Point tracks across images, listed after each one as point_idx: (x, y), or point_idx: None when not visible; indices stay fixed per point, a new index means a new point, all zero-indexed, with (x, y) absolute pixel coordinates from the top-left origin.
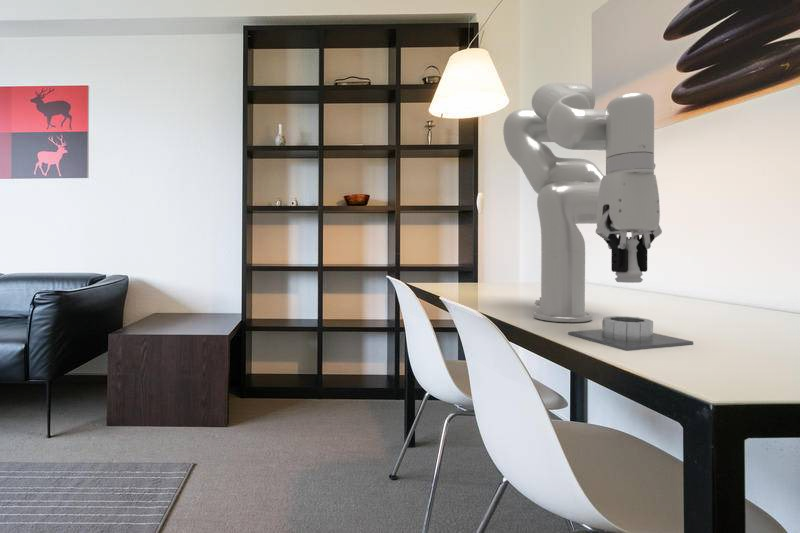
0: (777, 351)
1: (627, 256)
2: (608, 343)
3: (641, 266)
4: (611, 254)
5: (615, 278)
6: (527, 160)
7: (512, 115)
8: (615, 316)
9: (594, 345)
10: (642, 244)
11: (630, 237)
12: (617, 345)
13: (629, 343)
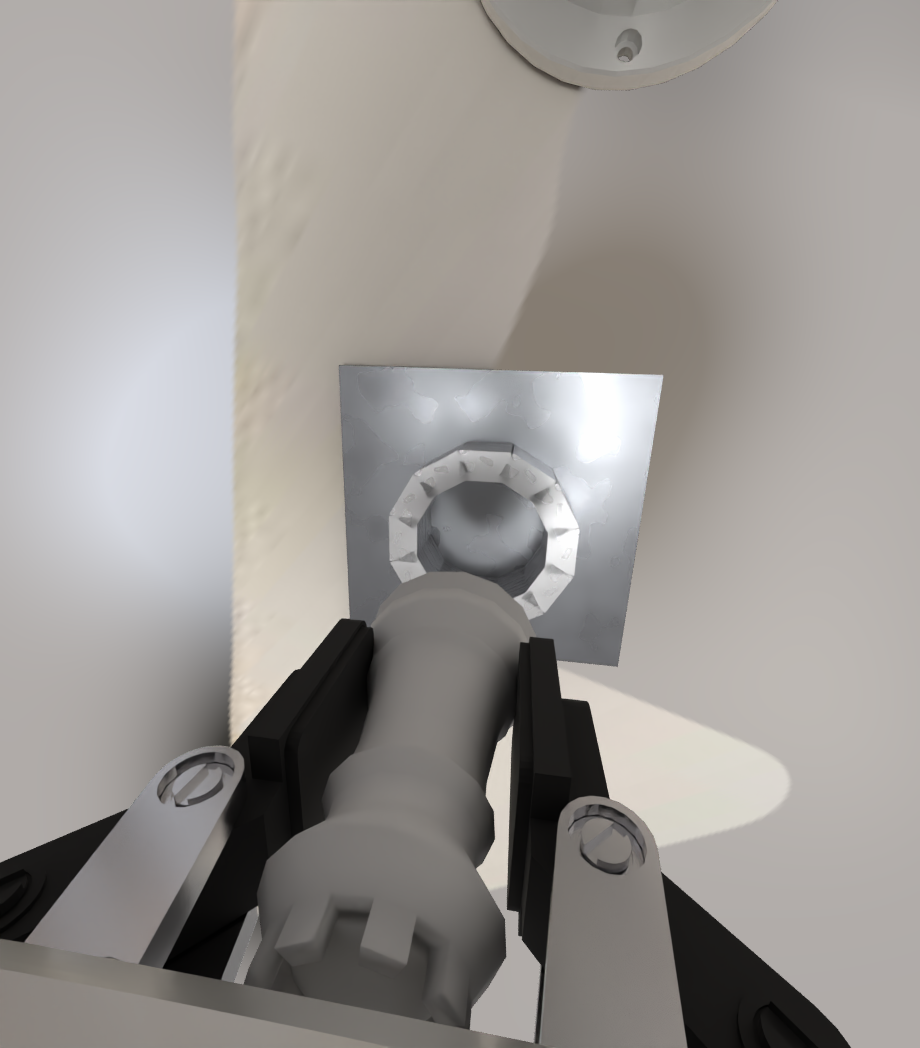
0: (742, 798)
1: None
2: (348, 573)
3: (512, 755)
4: (279, 695)
5: (402, 588)
6: None
7: None
8: (506, 460)
9: (314, 551)
10: (543, 963)
11: (425, 1004)
12: (350, 607)
13: None
